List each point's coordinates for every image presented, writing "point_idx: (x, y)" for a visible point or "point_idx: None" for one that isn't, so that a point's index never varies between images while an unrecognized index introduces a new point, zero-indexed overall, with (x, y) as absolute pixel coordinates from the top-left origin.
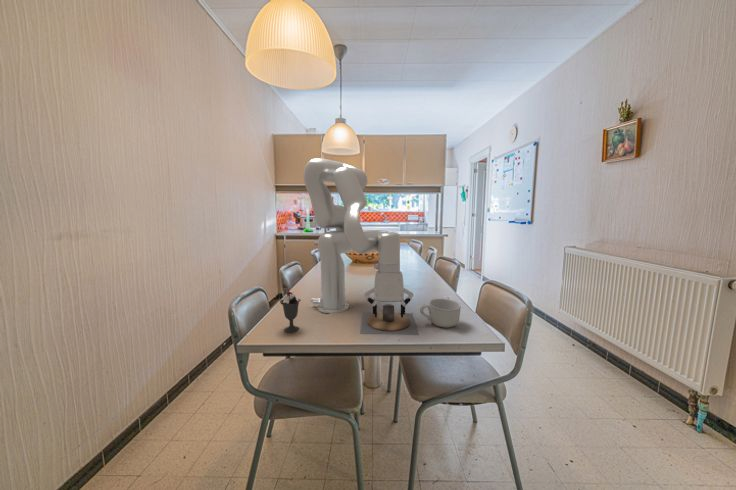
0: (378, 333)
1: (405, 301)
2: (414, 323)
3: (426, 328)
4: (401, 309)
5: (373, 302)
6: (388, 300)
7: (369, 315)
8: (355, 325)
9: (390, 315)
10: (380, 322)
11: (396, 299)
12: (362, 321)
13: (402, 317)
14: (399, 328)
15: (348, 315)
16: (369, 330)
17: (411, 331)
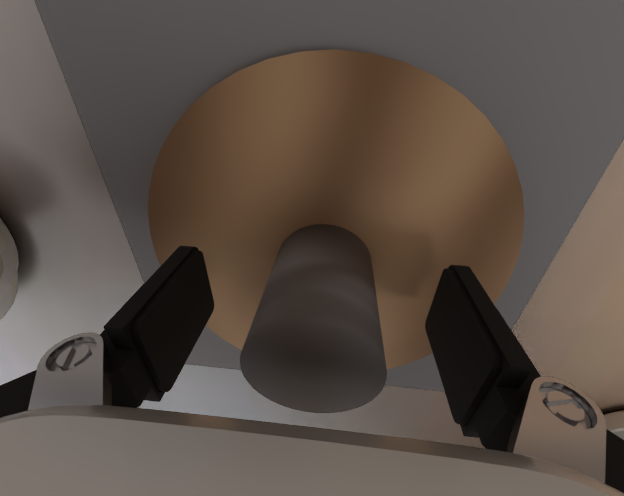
0: None
1: (22, 410)
2: (130, 230)
3: (36, 161)
4: (152, 302)
5: (601, 448)
6: (302, 458)
7: None
8: (613, 230)
9: (301, 259)
10: (402, 218)
11: (75, 467)
12: (534, 280)
13: (189, 246)
14: (223, 80)
15: (581, 376)
16: (550, 77)
17: (115, 57)
